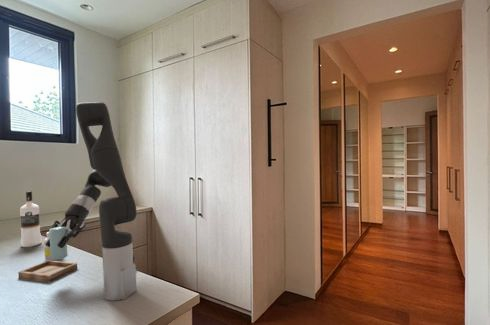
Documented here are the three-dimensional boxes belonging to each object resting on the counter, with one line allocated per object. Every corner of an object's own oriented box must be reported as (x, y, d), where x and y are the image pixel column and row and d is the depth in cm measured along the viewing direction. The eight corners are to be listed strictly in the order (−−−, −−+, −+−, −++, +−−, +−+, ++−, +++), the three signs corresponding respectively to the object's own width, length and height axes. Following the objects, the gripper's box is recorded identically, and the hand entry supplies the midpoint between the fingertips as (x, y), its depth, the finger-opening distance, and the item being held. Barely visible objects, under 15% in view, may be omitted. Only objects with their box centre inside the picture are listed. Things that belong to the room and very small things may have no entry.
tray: (77, 268, 109) (77, 263, 109) (49, 282, 98) (49, 275, 98) (48, 265, 113) (48, 260, 113) (18, 278, 102) (18, 272, 102)
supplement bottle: (61, 254, 126) (60, 228, 126) (63, 258, 122) (62, 231, 121) (44, 258, 122) (42, 232, 122) (46, 262, 117) (44, 234, 117)
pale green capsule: (70, 255, 99) (69, 226, 99) (57, 260, 94) (56, 230, 94) (60, 254, 101) (59, 226, 100) (47, 259, 96) (45, 230, 95)
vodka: (44, 241, 149) (41, 189, 148) (38, 246, 141) (36, 191, 140) (24, 243, 145) (21, 191, 145) (17, 248, 137) (14, 193, 136)
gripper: (61, 203, 106) (31, 241, 95) (88, 203, 102) (61, 242, 91) (73, 213, 111) (46, 250, 100) (100, 213, 108) (75, 252, 96)
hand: (54, 246), depth 96 cm, fingers closed on pale green capsule, 5 cm apart
